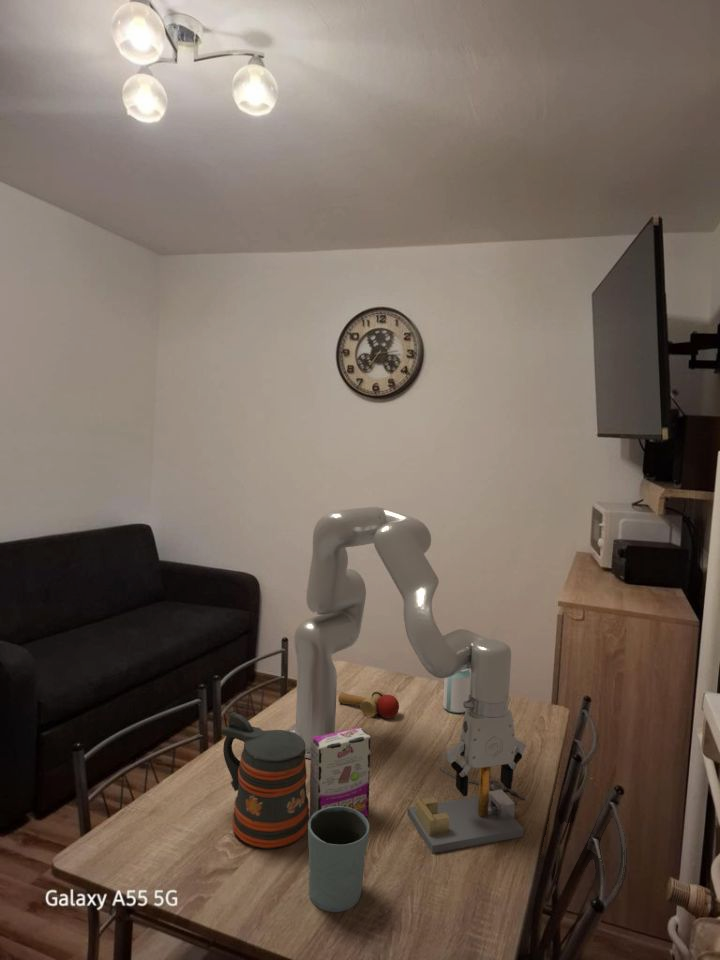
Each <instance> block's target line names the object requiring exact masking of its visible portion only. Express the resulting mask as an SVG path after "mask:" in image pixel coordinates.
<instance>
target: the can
mask: <svg viewBox="0 0 720 960" xmlns="http://www.w3.org/2000/svg"><path fill="white" fill-rule="evenodd" d="M470 675H471V671H469V669H465V670H462V671H460V672H458V673H456V674H455V675H453V676H451V677H448V678H443V679H444V680H443V681H444V683H443V684H444V685H443V700H442V701H443V703H442V705H443V706H442V707H443V708H444V709H445V710H446V711H447V712H449V713H453V714H463V713H465V712H466V709H468V708H464V705H463V702H464V701H467V700H469V695H470Z"/></svg>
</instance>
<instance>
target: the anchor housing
mask: <svg viewBox="0 0 720 960" xmlns="http://www.w3.org/2000/svg"><path fill="white" fill-rule="evenodd" d="M507 795H508V794H507ZM507 795H506V792H503V790H495V791H491V790H489V805H488V807H490V808H491V807H494V806H497V807H498V813H497V817H498V818H499V819H500V821H501V820H507V819H512V818H514V819H515V803H514V802H513V801H512V800H511V799H510V798H511V797H510V796H509V795H508V796H509V797H510V798H509V797H508V796H507Z"/></svg>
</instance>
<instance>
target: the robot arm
mask: <svg viewBox="0 0 720 960" xmlns="http://www.w3.org/2000/svg"><path fill="white" fill-rule="evenodd" d="M431 543H432V536H431V533H430V530H429V528H428V527H427V525H425V523H424V522H423V521H420V520H419V519H417V518H414V517H411V516H408V515H406V514H402V513H398V512H396V511H392V510H390V509H386V508H383V507H378V506H370V507H369V506H368V507H358V508H349V509H342V510H336V511H331V512H329V513H326V514H324V515H322V516H321V517H320V519H318V521H317V522H316V523H315V526H314V528H313V534H312V554H311V555H312V556H311V562H310V569H309V575H308V582H307V588H306V598H305V600H306V604H307V607H308V609H309V610H310V612H312V613H313V614H315V615H317V616H314V617H310V618H308V619H306V620H304V621H302V622H301V623H300V624H298V626H297V628H296V629H295V632H294V636H293V643H294V650H295V656H296V657H295V658H296V673H297V674H296V675H297V676H296V701H295V704H296V705H295V708H296V709H295V710H296V711H295V724H292V728H291V729H288V731H290V732H293V733H295V734H297V735H299V736H300V737H301V738H302V739H303V740H304V742H305V749H306V754H305V759H309V760H311V738H312V737H317V736H321V735H326V734H330V733H335V732H336V721H337V720H336V717H337V715H336V714H337V688H338V687H337V685H338V681H337V680H338V675H337V668H336V666H335V664H334V662H333V658H332V656H333V654H337V653H338V652H341V651H344V650H346V649H349V647H352V646H353V645H354V644H356V642H357V641H358V639H359V636H360V632H361V629H362V623H363V617H364V611H365V610H364V609H365V603H366V597H367V589H366V583H365V580H364V579H363V577H362V575H361V574H360V573H359V572H358V571H357V570H354V569H352V568H348V564H349V556H348V552H347V549H346V548H349V547H350V548H353V547H358V546H366V545H370V544H373V545H374V549H375V551H376V552H377V554H378V557H379V558H380V559H381V562H382V564H383V565H384V567H385V568H386V571H387V573H388V574H389V575H390V577H391V579H392V581H393V583H394V585H395V587H396V588H397V590H398V591H399V594H400V595H401V598H402V600H403V621H404V629H405V633H406V637H407V639H408V642H409V644H410V646H411V647H412V649H413V651H414V654H415V655H416V657H417V658H418V660H419V662H420V663H421V665H422V666H423V667H424V669H425V670H426V671H427V673H428V674H430V675H432V676H433V677H434V678H438V679H444V678H448V677H451V676H453V675H455V674H456V673H458V672H460V671H462V670H465V669H468V670H469V669H470V693H469V700H467V701H464V702H463V705H464V708H468V709H466V711H465V712H464V716H463V720H462V724H461V732H460V740H459V742H457V744H455V745H453V746H452V747H450V748H449V749H447V750H446V751H445V752H444V756H445V757H446V761H447V762H448V764H449V766H451V768H452V769H453V770H454V772H455V773H456V774H455V775H456V779H455V788H456V790H457V791H458V792H459V793H460V794H461V795H462V796H463V797H467V796H468V793H469V792H468V791H469V783H468V779H469V776H468V775H467V773H469V771H470V769H480V768H485V767H491V768H493V767H498V766H500V778H499V780H500V783H501V784H503V785H504V786H505V787H506V788H507V789H512V788H513V787H512V786H513V785H512V784H513V781H514V770H515V769H516V768H517V764H518V763H519V762H520V761H521V759H522V758H523V756H522V755H523V754H524V752H525V751H526V748H527V744H526V743H525V742H524V741H523V740H521V739H518V738H516V736H515V723H514V718H513V712H512V711H511V710H510V709H509V704H510V688H511V687H510V683H511V666H512V650H511V648H510V646H509V644H507V643H506V642H504V641H501V640H498V639H492V638H486V637H484V636H481V635H480V634H478V633H476V632H474V631H471V630H469V629H464V628H461V629H455V630H453V631H451V632H449V633H447V634H444V635H443V633H442V632H441V631H440V629H439V627H438V625H437V623H436V620H435V618H434V613H433V608H432V607H433V606H432V605H433V598H434V595H435V593H436V590H437V588H438V586H439V580H440V579H439V577H438V575H437V573H436V572H435V571H434V569H433V567H432V565H431V564H430V562H429V560H428V559H427V557H426V555H425V553H426V552H428V550H429V549H430V547H431ZM458 755H459V756H460V757H459V758H458V760H457V759H456V757H457V756H458Z"/></svg>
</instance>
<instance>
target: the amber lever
mask: <svg viewBox="0 0 720 960" xmlns="http://www.w3.org/2000/svg"><path fill="white" fill-rule="evenodd" d="M491 769H492V767H485V768H479V777H478V779H479V780H478V781H479V785H478V796H479V797H478V815H479V816H482V817H486V816H488V815H491V814H492V813H493V814H497V813H498V807H497V806H494V807H491V808H490V807H488V805H489V791H490V790H489V786H490V784H491V783H490V776H491Z"/></svg>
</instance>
